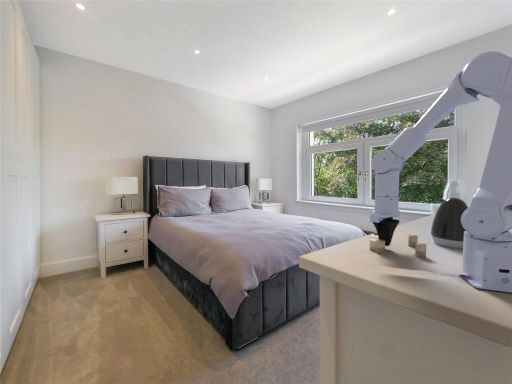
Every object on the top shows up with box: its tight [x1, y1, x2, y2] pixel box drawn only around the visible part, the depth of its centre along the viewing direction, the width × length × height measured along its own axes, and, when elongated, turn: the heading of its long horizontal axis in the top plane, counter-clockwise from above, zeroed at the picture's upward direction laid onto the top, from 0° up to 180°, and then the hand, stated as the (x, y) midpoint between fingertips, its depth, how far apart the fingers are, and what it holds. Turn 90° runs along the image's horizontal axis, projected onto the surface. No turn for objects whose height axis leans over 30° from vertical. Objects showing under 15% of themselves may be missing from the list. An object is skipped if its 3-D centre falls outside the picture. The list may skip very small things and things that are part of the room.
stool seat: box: [374, 234, 427, 259], centre depth 64 cm, size 14×13×4 cm
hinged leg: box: [369, 232, 379, 251], centre depth 67 cm, size 9×2×3 cm, turn 150°
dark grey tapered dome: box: [430, 197, 469, 250], centre depth 68 cm, size 10×10×15 cm
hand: (384, 245), depth 64 cm, fingers closed
